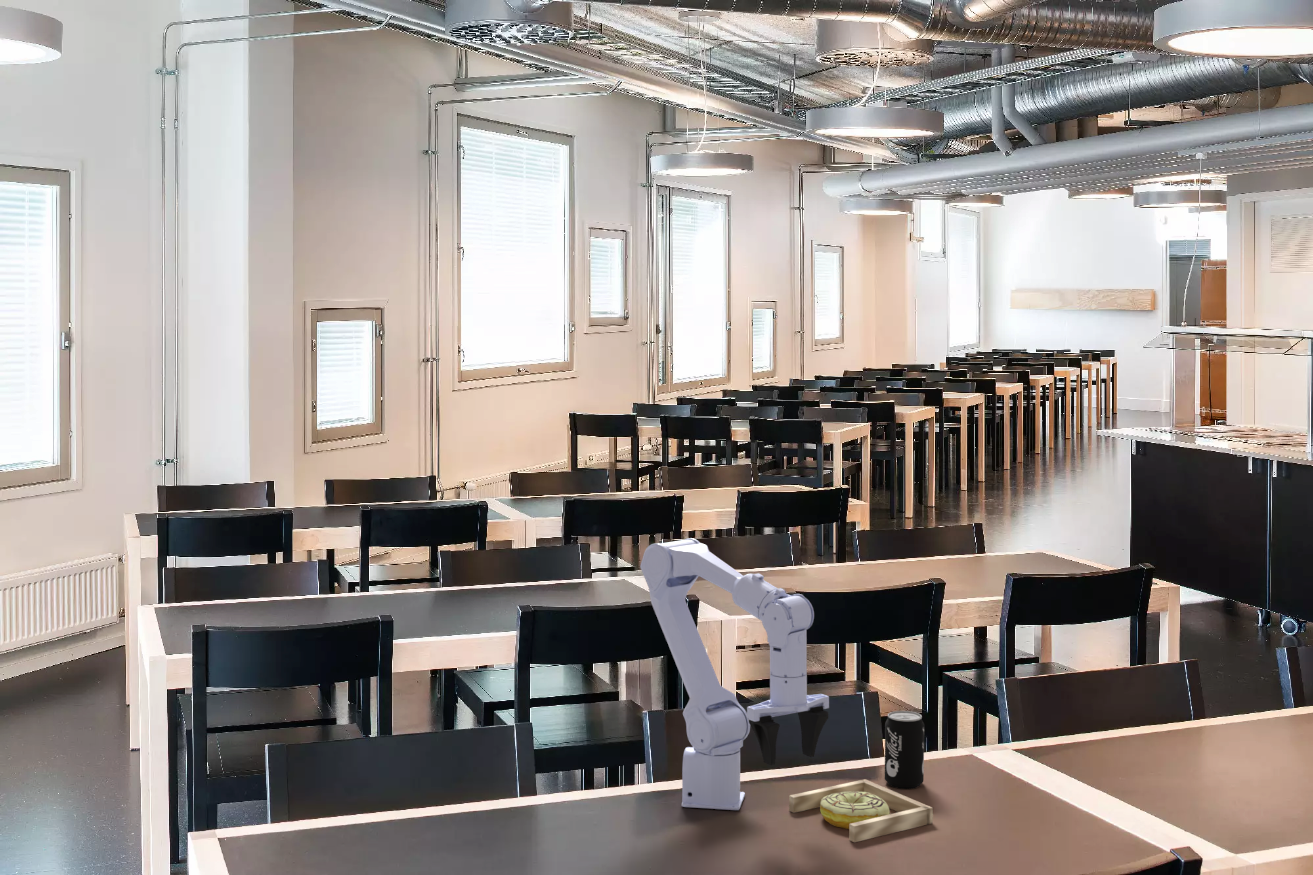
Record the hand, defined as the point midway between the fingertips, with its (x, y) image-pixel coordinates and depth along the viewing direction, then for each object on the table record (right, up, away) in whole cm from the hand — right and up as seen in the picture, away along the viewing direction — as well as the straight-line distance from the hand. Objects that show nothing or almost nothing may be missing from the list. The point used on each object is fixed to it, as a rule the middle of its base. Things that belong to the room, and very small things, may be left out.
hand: (789, 759), depth 214 cm
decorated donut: (+11, -11, +3) cm, 15 cm away
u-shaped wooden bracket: (+11, -10, +4) cm, 16 cm away
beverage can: (+22, -9, +20) cm, 31 cm away
